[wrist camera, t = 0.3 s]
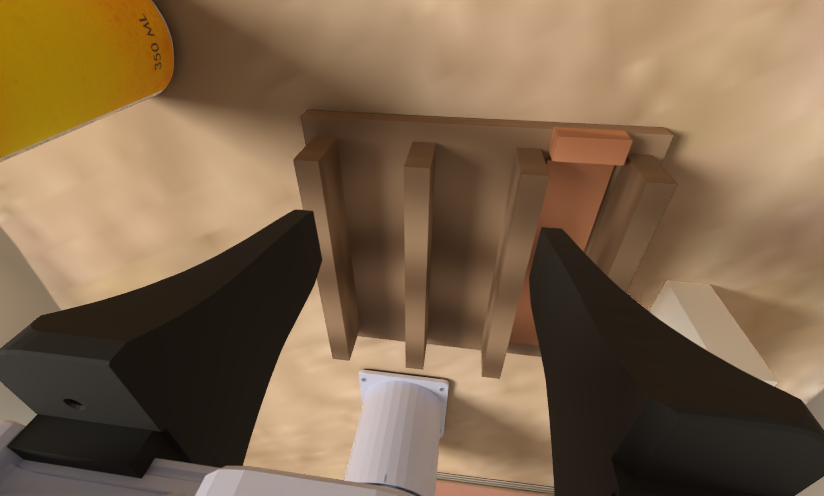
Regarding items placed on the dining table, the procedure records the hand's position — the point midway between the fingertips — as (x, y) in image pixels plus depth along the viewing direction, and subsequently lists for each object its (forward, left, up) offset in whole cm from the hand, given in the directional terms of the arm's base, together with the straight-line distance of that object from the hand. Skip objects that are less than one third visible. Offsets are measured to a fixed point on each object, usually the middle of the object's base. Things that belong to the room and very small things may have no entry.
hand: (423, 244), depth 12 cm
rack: (-8, -2, -10) cm, 13 cm away
